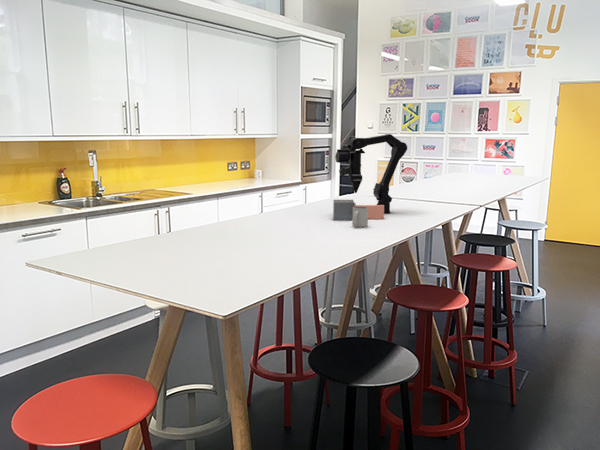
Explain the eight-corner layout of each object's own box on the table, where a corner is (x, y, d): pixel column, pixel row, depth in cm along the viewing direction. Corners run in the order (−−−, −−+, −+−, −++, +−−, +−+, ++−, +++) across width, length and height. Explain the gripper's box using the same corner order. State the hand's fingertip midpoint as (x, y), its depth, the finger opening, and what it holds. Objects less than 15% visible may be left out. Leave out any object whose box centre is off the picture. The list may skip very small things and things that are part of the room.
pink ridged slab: (383, 217, 258) (383, 205, 257) (383, 218, 256) (384, 205, 254) (349, 217, 259) (350, 204, 257) (350, 218, 256) (350, 205, 255)
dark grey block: (354, 216, 262) (354, 199, 260) (355, 220, 253) (356, 202, 251) (333, 216, 263) (333, 199, 261) (333, 220, 253) (333, 202, 251)
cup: (370, 225, 240) (370, 207, 239) (361, 229, 232) (361, 210, 230) (356, 224, 244) (356, 205, 242) (347, 227, 236) (347, 208, 234)
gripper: (339, 160, 274) (339, 189, 277) (340, 163, 256) (340, 194, 259) (360, 160, 274) (359, 189, 277) (362, 163, 255) (362, 194, 259)
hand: (354, 191), depth 268 cm, fingers open, 9 cm apart
